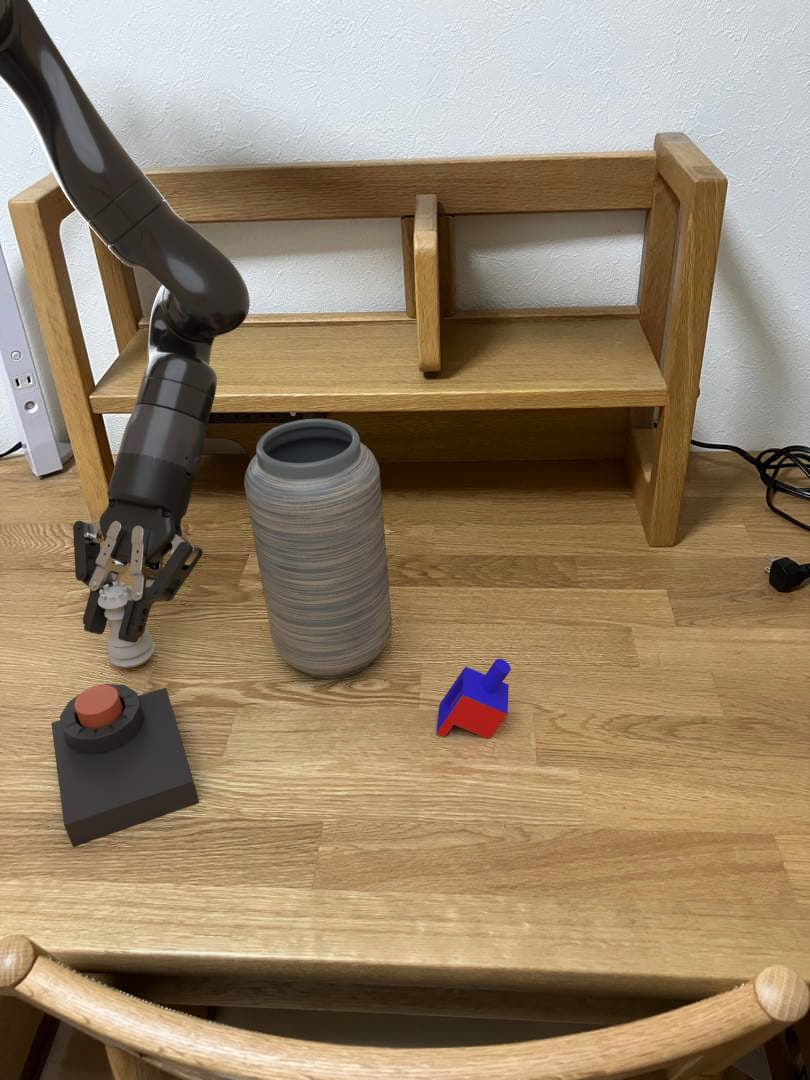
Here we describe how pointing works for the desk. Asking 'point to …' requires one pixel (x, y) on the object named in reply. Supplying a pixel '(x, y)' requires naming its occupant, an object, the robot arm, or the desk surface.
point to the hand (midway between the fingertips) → (110, 636)
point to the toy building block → (476, 701)
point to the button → (98, 706)
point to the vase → (320, 546)
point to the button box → (121, 767)
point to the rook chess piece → (115, 607)
